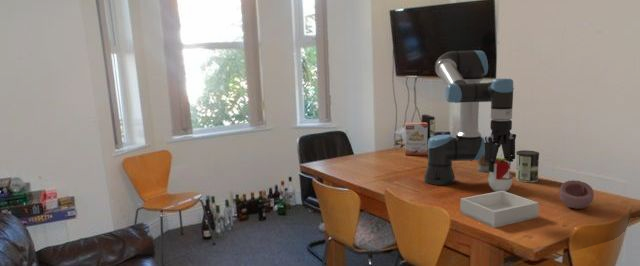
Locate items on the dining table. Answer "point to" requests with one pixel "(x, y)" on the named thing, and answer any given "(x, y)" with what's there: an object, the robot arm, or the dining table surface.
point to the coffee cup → (483, 164)
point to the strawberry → (501, 167)
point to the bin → (499, 208)
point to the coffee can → (527, 166)
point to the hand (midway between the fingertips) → (499, 178)
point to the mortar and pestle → (576, 194)
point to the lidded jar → (501, 183)
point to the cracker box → (416, 138)
